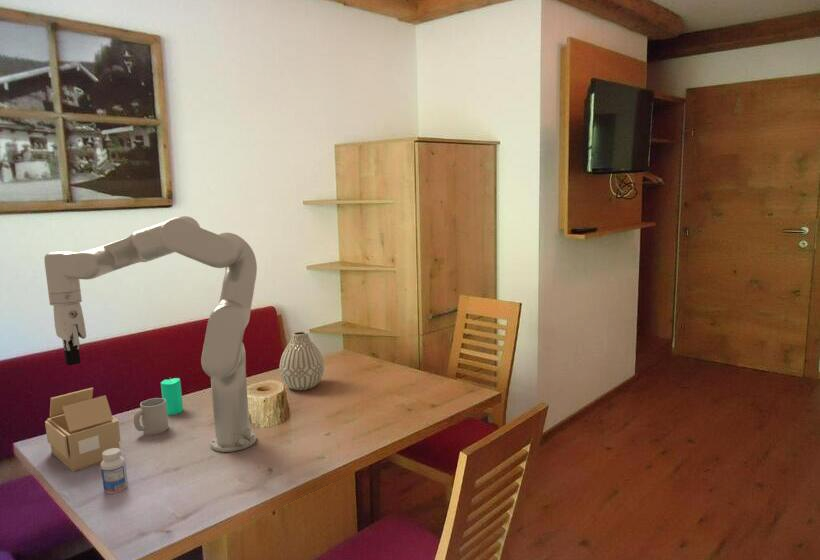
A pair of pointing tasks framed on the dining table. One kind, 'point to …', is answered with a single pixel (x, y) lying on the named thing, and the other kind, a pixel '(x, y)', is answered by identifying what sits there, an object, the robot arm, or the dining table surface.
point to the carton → (81, 441)
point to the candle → (172, 395)
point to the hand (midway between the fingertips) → (73, 363)
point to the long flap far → (68, 400)
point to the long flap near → (87, 413)
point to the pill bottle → (113, 471)
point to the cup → (152, 416)
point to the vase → (301, 363)
